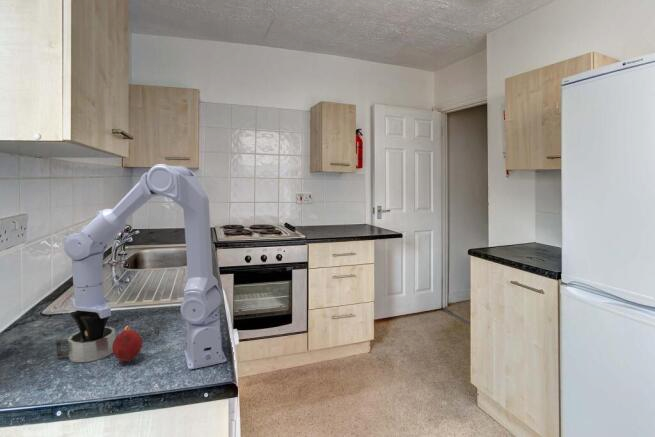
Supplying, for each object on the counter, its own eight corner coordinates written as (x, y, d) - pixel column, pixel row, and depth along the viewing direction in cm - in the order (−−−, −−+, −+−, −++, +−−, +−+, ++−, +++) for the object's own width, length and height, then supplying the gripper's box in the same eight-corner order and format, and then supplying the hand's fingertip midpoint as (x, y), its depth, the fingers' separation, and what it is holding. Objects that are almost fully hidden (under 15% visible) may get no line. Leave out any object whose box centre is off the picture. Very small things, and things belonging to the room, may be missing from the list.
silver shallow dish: (114, 357, 81) (113, 338, 80) (53, 368, 76) (51, 348, 75) (117, 341, 89) (116, 324, 88) (62, 351, 84) (60, 332, 83)
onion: (139, 365, 77) (138, 330, 76) (109, 369, 75) (107, 333, 75) (145, 353, 82) (143, 320, 82) (117, 357, 81) (115, 323, 80)
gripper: (123, 284, 81) (126, 342, 82) (92, 275, 88) (95, 328, 90) (89, 292, 75) (93, 354, 76) (59, 282, 82) (63, 338, 84)
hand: (92, 341), depth 82 cm, fingers closed on plunger, 3 cm apart
